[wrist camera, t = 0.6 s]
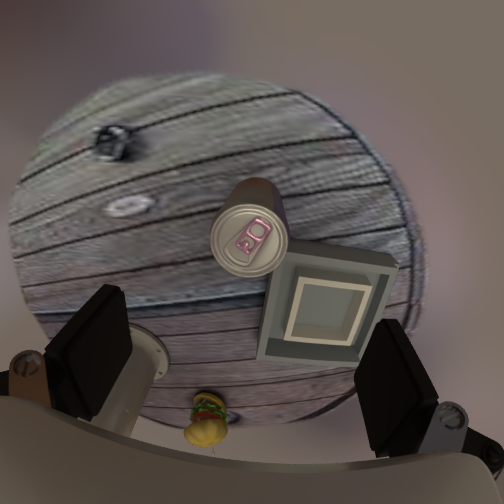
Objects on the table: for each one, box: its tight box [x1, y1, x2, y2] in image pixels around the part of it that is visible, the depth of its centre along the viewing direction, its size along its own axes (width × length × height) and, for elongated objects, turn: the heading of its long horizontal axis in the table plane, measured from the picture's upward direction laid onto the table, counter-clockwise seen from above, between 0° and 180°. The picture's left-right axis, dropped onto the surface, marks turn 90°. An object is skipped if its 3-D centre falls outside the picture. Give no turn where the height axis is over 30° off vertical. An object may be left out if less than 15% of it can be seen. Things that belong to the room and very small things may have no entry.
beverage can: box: [210, 177, 290, 278], centre depth 27 cm, size 6×6×15 cm
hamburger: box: [184, 392, 228, 454], centre depth 42 cm, size 8×7×12 cm
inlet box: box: [256, 238, 400, 367], centre depth 36 cm, size 16×16×5 cm
